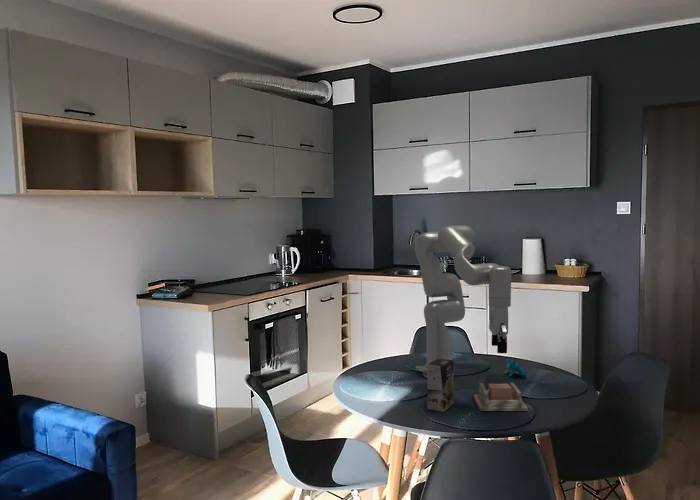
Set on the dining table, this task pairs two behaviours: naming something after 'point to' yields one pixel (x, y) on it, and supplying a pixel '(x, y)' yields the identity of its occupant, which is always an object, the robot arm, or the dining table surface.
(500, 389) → the brown block
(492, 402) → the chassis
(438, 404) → the coffee box
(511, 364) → the toy dinosaur
